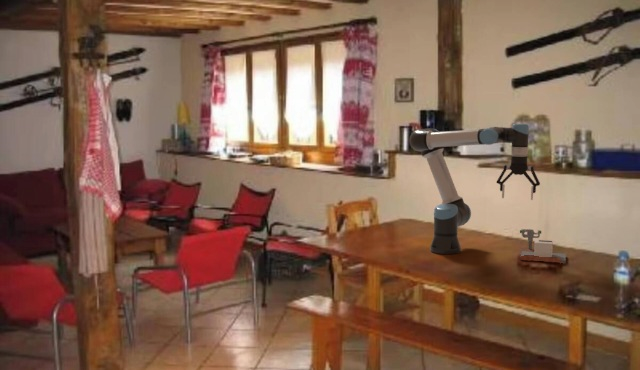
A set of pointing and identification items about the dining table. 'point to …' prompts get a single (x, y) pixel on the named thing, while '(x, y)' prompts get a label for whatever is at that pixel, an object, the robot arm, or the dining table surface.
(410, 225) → the dining table surface
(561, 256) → the board
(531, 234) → the mechanical component
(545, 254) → the cream slotted box
